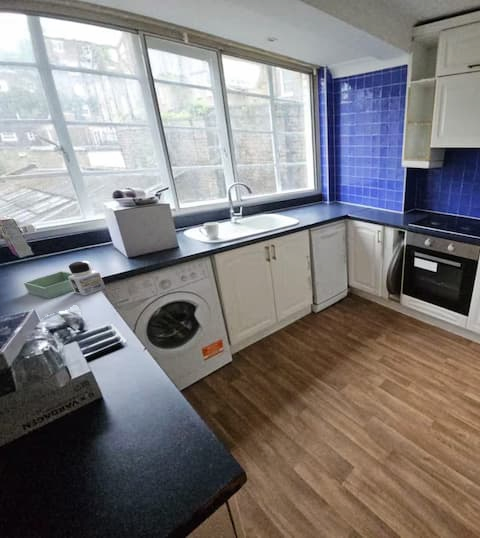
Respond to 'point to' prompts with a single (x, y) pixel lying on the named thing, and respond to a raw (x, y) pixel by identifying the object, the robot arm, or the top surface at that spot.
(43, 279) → the tray
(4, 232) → the candy bar box
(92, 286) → the container
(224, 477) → the top surface
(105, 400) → the top surface
